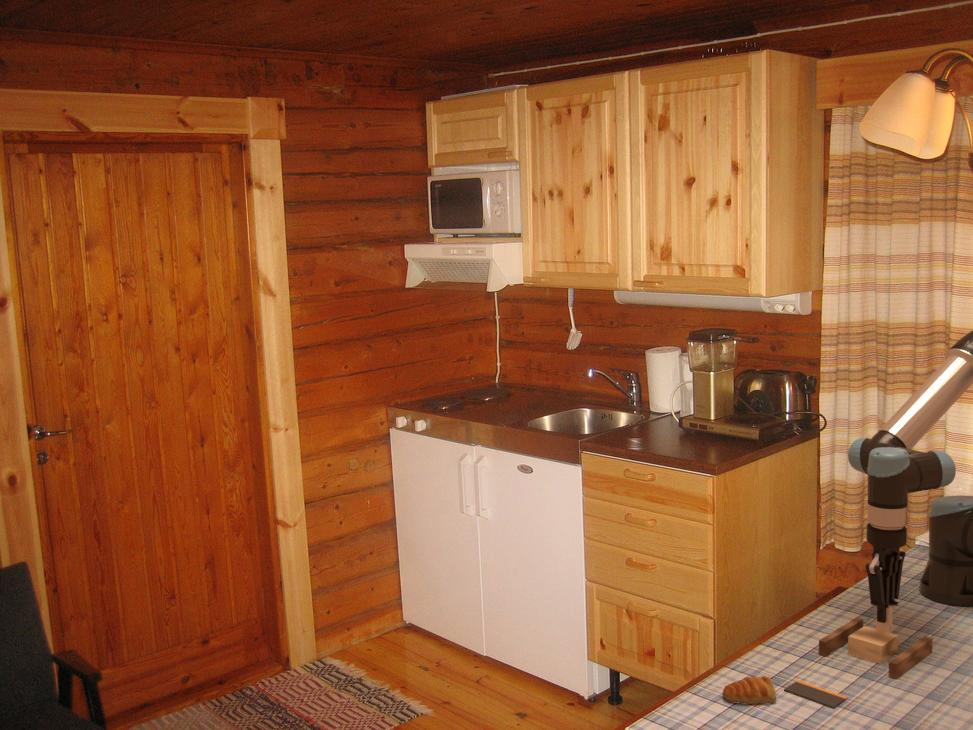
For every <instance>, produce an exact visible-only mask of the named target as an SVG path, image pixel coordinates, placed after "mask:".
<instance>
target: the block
mask: <svg viewBox="0 0 973 730" xmlns="http://www.w3.org/2000/svg"><path fill="white" fill-rule="evenodd" d="M898 643H899V635H898V634H894V633H892V634H891V633H888V632H884V631H881V630H877V629H876V628H873V627H870V626H866V625H863V627H862V628H861V629H859V630H857V631H856V632H854V633H853V634H851V635H850V636H848V643H847V654H848V655H849V654H851V655H850V656H852V655H854V656H853V657H856V656H858V657H857V658H859V657H860V658H859V659H862V658H863V660H865V659H867V660H866V661H868V660H869V661H868V662H871V661H873V662H872V663H875V662H876V664H878V663H879V664H878V665H881V664H882V665H883V664H884V663H886V662H887V660H888V661H889V660H890V659H892V658H893V657H895V656H896V655H898V653H899V652H898V651H899V650H898V649H899V644H898ZM894 655H895V656H894Z"/></svg>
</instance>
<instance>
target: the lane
mask: <svg viewBox="0 0 973 730" xmlns="http://www.w3.org/2000/svg"><path fill="white" fill-rule="evenodd" d="M862 627H864V618H861V617H857V616H856V617H854V618H853V619H851V620H850V621H848V622H846V623H845V624H843V625H842V626H840V627H838V628H837V629H835V630H834V631H832V632H831V633H828V634H827V635H825V636H824V637H822V638H820V639H819V640H818V655H819V654H820V656H822V655H823V656H822V657H825V656H826V657H828V656H829V655H830V653H831V652H832V653H833V651H834V652H835V651H836V649H837V650H838V649H840V648H841V647H843V646H844V645H846V644H847V643H846V642H848V636H850V635H851V634H853V633H854V632H856V631H857V630H859V629H861V628H862ZM845 643H846V644H845ZM843 644H844V645H843ZM842 645H843V646H842ZM840 646H841V647H840ZM839 647H840V648H839ZM832 653H831V654H832ZM932 653H933V638H932V637H928V636H926V635H925V636H923V637H922V638H920V639H919V640H918V641H916V642H915V643H913V644H912V645H911V646H909V647H908V648H906V649H905V650H904V651H902V652H901V653H899V654H897V656H894V658H893V659H891V660H890V661H889V662H888V678H891V679H893V680H894V679H895V680H898V679H899V678H900V677H901V676H903V675H904V674H905V673H907V672H908V671H909V670H911V669H912V668H914V667H915V666H916V665H917V664H919V663H920V662H921V661H923V660H924V659H925V658H927V657H928V656H929V655H931V654H932Z"/></svg>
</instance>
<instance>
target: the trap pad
mask: <svg viewBox="0 0 973 730" xmlns="http://www.w3.org/2000/svg"><path fill="white" fill-rule="evenodd" d="M783 690H784V691H783V692H786V693H789V694H793V695H795V696H796V697H797V696H798V697H800V698H804V699H806V700H809V701H812V702H815V703H817V704H820V705H823V706H826V707H828V708H831V709H835V708H837V707H838V706H840V705H841V704H843V703H844V702H846V701H847V700H848V696H845V695H842V694H840V693H836V692H833V691H831V690H828V689H826V688H825V689H824V688H822V687H819V686H816V685H813V684H811V683H807V682H804V681H802V680H799V679H798V680H795V682H792V684H790V685H788V686H787V687H785V688H784V689H783Z"/></svg>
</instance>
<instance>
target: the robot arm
mask: <svg viewBox="0 0 973 730" xmlns="http://www.w3.org/2000/svg"><path fill="white" fill-rule="evenodd" d="M944 356H945V358H944V359H945V360H944V361H943V362H942V363H941V364H940V366H939V367H937V369H936V370H935V371H934V372H933V373H931V375H930V376H929V377H928V378H927V379H926V380H925V381H924V382H923V383H922V384H921V386H919V388H918V389H917V390H916V391H915V392H914V393H913V394H912V395H911V396H910V397H909V398H908V399H907V400H906V402H905V403H903V405H901V407H899V409H898V410H897V411H896V412H894V414H893V415H892V416H891V417H890V418H889V420H887V422H885V424H884V425H883V426H882V427H880V429H879V430H878V431H877V432H876V433H875V434H874V435H873V436H872V437H871V438H869V437H859V438H857V439H856V440H854V441H853V442H852V443H851V445H850V447H849V449H848V453H847V460H848V462H849V465H850V467H852V469H854V470H855V471H857V472H860V473H862V474H865V475H867V505H865V508H866V510H867V512H866V514H867V517H866V518H867V519H866V522H868V523H867V524H866V538H865V539H866V542H867V543H868V544H870V545H871V546H872V549H873V550H872V556H871V559H872V561H871V563H869V562H868V563H866V564H865V570H866V573H867V581H868V591H869V598H870V599H869V600H870V605H871V606H874V607H876V610H875V611H876V613H875V615H876V616H875V629H877V630H881V631H884V632H888V633H891V634H893V617H894V616H893V615H894V613H893V611H894V608H893V607H894V606H898V605H899V601H897V600H899V595H900V588H901V582H902V581H901V580H902V575H903V567H904V566H903V565H904V561H905V558H906V551H903V550H900V549H901V548H903V547H904V546H906V545H907V539H908V538H907V536H908V535H907V534H908V533H907V532H908V531H907V530H908V528H907V527H906V526H907V525H908V512H909V511H908V509H909V508H908V507H909V506H908V503H909V502H908V501H909V494H912V493H919V492H923V491H928V490H938V489H941V488H943V487H947V486H949V485H950V484H952V483H953V482H954V480H955V478H956V473H957V469H956V464H955V463H956V462H955V461H954V460H953V458H952V456H950V455H949V454H948V453H947V452H945V451H943V450H930V451H919V450H915V449H913V448H915V446H916V444H918V443H919V441H921V439H922V438H923V437H924V436H925V435H926V434H927V433H928V432H929V431H930V430H931V429H932V428H933V426H935V425H936V424H937V422H938V421H939V420H940V419H942V417H943V416H944V415H945V414H946V413H947V412H948V411H949V410H950V408H951V407H953V405H955V403H956V402H957V401H958V400H959V399H960V398H961V397H962V396H963V395H964V394H965V392H966V391H967V390H969V388H970V387H971V386H972V385H973V329H972V330H970V331H969V332H968V333H966V334H965V335H964V336H962V337H961V338H960V339H958V340H957V341H956V342H955V343H954V344H953V345H952V346H951V347H950V348H949V349H948V350H947V351H946V352H945V355H944ZM929 510H930V511H929V515H928V519H929V520H928V525H929V527H928V560H927V563H926V565H925V567H924V570H923V572H922V575H921V577H920V580H919V591H920V594H922V596H924V597H925V598H928V599H930V600H931V601H934V602H937V603H941V604H945V605H951V606H958V607H959V606H960V607H973V495H946V496H941V497H937V498H935V499H934V500H933V501H932V502H931V503H930V508H929Z"/></svg>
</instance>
